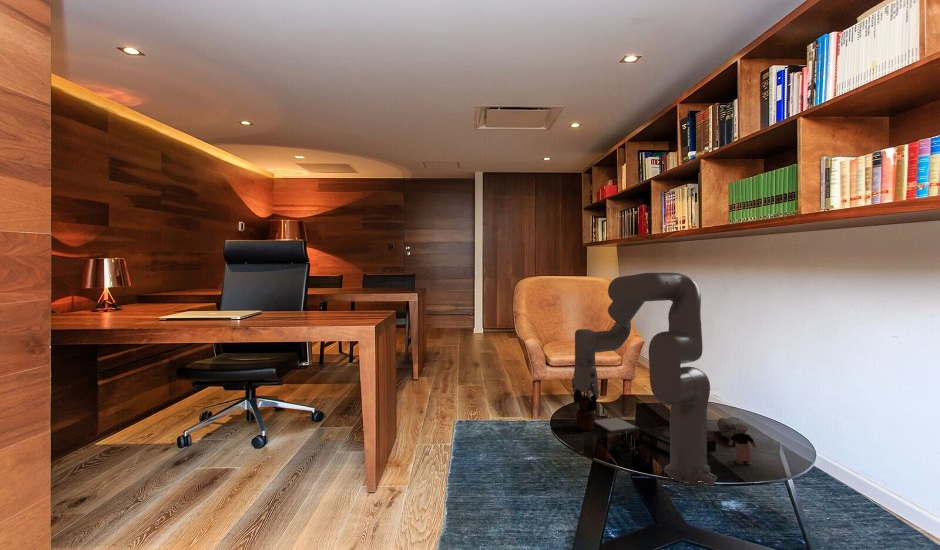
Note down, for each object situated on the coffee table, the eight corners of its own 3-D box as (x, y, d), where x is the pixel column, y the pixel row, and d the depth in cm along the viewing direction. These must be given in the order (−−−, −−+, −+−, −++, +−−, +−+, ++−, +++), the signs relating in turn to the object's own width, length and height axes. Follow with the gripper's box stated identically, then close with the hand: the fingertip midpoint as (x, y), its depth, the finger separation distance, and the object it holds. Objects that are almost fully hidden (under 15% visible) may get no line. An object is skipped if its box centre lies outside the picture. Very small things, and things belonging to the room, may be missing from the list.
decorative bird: (729, 431, 155) (728, 412, 155) (746, 449, 140) (746, 427, 140) (713, 430, 157) (712, 411, 157) (729, 447, 141) (728, 426, 141)
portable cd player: (639, 441, 147) (639, 430, 147) (675, 434, 153) (675, 424, 153) (676, 460, 132) (676, 447, 132) (715, 452, 138) (715, 440, 138)
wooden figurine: (574, 430, 157) (574, 390, 157) (578, 425, 162) (578, 387, 163) (592, 433, 154) (592, 392, 154) (596, 428, 159) (595, 389, 159)
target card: (639, 429, 158) (639, 427, 158) (610, 433, 154) (610, 431, 154) (617, 418, 170) (617, 416, 170) (590, 421, 166) (590, 420, 166)
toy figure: (749, 459, 131) (748, 419, 131) (758, 465, 127) (757, 423, 128) (725, 460, 131) (725, 419, 131) (733, 465, 127) (733, 424, 127)
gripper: (607, 366, 151) (607, 412, 151) (580, 356, 168) (580, 399, 168) (589, 367, 149) (589, 414, 149) (564, 358, 166) (564, 400, 166)
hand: (584, 406), depth 159 cm, fingers open, 9 cm apart
